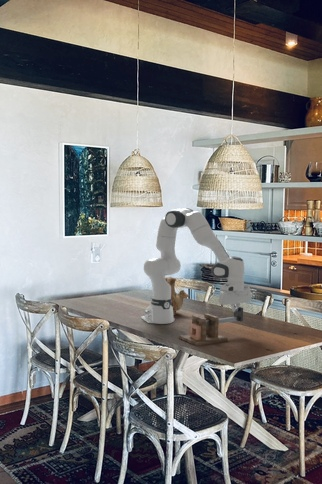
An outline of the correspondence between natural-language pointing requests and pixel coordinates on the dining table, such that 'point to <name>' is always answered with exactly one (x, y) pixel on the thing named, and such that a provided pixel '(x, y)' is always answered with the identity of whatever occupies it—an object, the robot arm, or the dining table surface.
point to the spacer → (198, 331)
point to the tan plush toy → (176, 295)
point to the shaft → (237, 317)
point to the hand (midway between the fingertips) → (235, 311)
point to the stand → (205, 331)
